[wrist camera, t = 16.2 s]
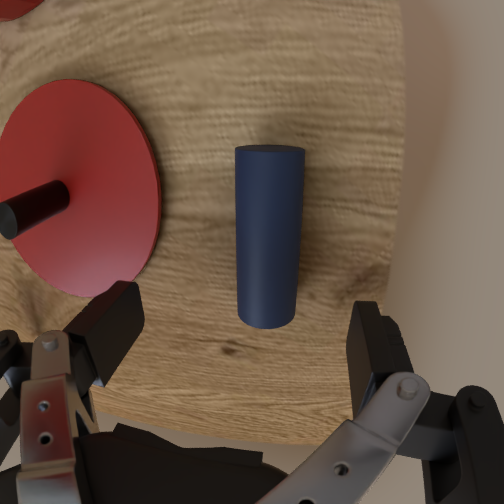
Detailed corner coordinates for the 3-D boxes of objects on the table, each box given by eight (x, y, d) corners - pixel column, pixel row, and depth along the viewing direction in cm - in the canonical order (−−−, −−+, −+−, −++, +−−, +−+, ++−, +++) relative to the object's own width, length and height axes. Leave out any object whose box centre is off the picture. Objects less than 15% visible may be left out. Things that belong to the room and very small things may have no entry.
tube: (239, 144, 18) (229, 151, 15) (302, 145, 18) (307, 152, 14) (241, 295, 22) (234, 327, 19) (294, 298, 22) (295, 330, 18)
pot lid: (51, 43, 16) (-14, 38, 10) (217, 173, 19) (176, 202, 13) (-12, 207, 23) (-60, 232, 17) (105, 325, 26) (65, 374, 20)
